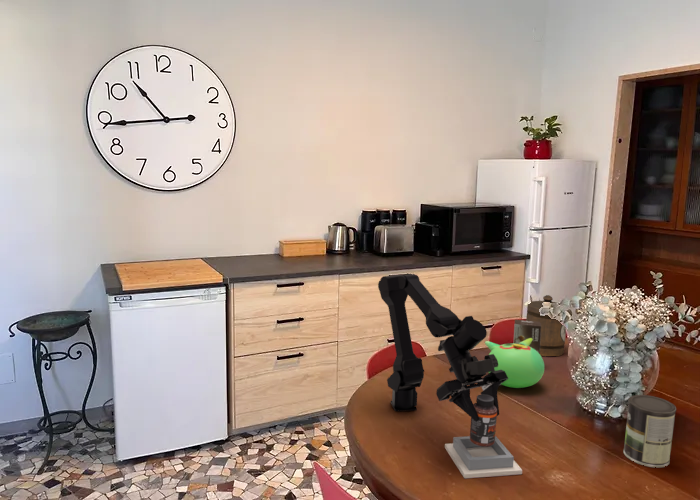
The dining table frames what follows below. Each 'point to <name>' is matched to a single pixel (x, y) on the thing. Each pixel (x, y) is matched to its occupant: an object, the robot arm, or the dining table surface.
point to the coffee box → (528, 333)
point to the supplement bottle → (484, 421)
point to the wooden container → (547, 329)
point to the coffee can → (649, 430)
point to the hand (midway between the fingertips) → (487, 418)
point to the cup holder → (482, 458)
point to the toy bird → (518, 363)
